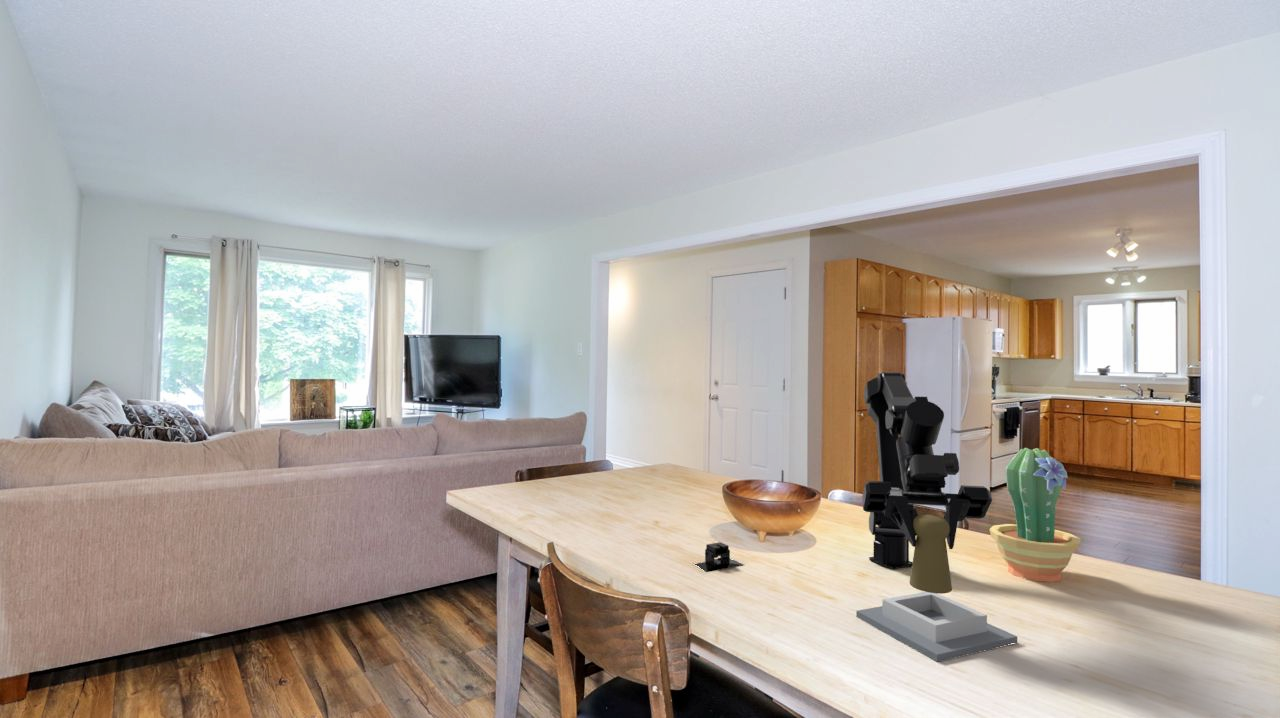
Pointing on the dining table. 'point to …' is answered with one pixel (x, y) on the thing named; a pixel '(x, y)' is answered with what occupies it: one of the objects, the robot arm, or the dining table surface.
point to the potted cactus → (1035, 518)
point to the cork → (931, 555)
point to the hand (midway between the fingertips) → (932, 546)
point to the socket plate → (935, 625)
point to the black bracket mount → (720, 563)
